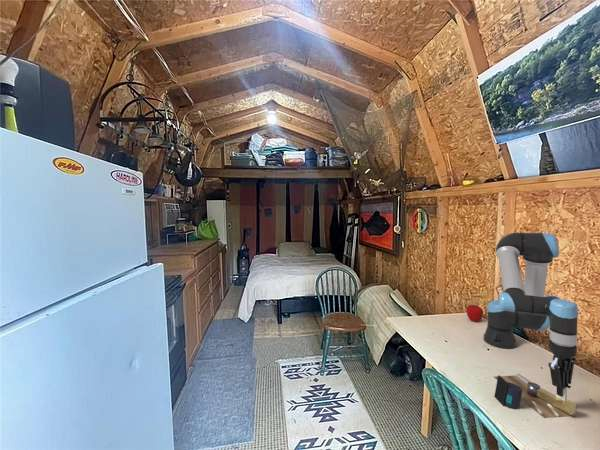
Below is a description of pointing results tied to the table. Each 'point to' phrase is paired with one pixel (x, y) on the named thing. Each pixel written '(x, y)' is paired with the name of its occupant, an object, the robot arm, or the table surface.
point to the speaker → (508, 393)
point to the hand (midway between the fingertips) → (561, 402)
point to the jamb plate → (535, 399)
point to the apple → (474, 313)
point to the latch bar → (551, 398)
